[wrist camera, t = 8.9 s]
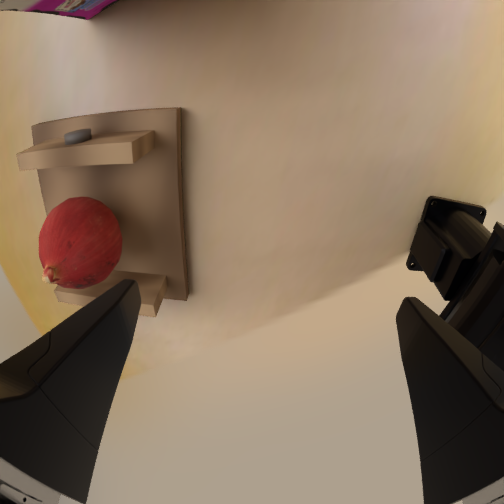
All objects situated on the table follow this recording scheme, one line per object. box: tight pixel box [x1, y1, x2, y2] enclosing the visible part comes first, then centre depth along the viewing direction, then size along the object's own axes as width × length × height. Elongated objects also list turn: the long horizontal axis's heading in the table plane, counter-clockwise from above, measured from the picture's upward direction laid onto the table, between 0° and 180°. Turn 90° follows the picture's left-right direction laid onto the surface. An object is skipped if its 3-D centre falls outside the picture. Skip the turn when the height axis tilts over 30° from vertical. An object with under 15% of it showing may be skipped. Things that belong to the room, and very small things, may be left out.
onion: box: [39, 197, 122, 289], centre depth 17 cm, size 6×6×8 cm
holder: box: [17, 108, 189, 317], centre depth 19 cm, size 12×15×4 cm
